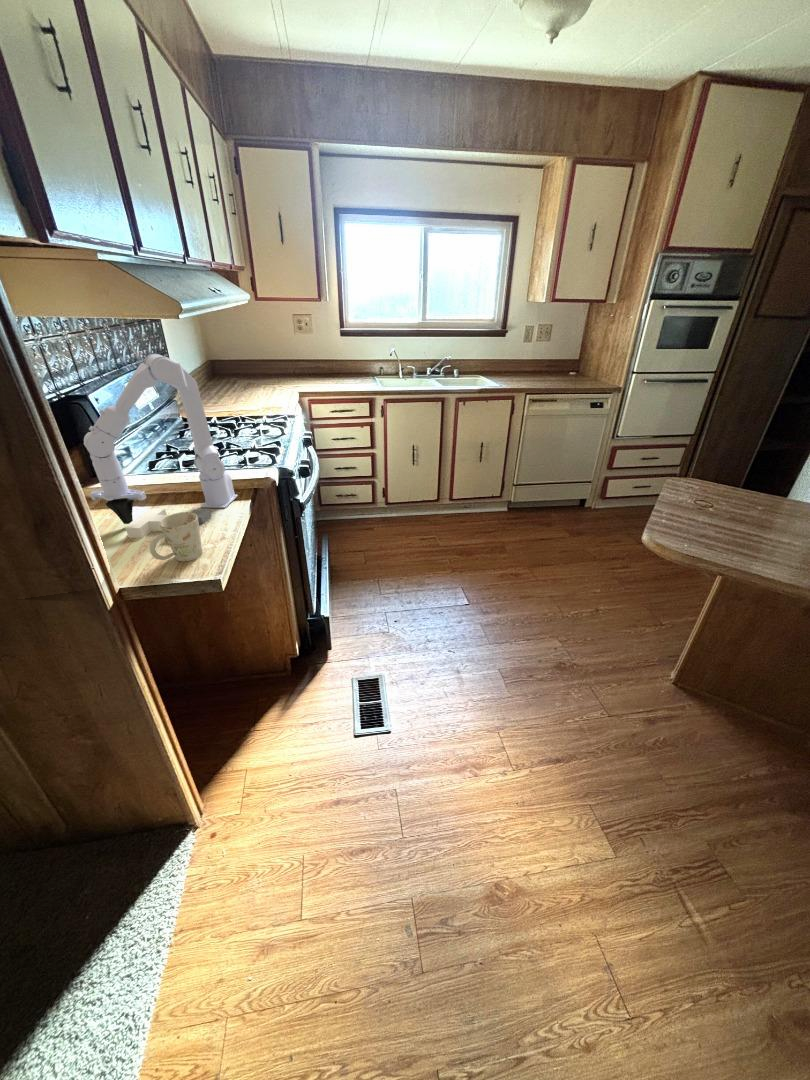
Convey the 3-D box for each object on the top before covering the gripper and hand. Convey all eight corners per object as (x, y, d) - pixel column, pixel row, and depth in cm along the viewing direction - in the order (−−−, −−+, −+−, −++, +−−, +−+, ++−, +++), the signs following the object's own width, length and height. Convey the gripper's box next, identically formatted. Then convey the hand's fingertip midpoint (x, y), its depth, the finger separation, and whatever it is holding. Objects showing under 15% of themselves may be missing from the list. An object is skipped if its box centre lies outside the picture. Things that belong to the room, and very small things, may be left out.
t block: (154, 517, 126) (151, 508, 124) (190, 518, 125) (187, 509, 123) (129, 537, 115) (125, 527, 114) (167, 538, 115) (164, 528, 113)
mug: (214, 551, 108) (204, 516, 103) (168, 576, 99) (155, 538, 94) (193, 543, 112) (183, 509, 107) (147, 566, 102) (134, 530, 97)
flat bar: (195, 515, 126) (193, 509, 125) (211, 516, 126) (209, 510, 125) (165, 541, 113) (163, 535, 112) (183, 542, 113) (181, 535, 112)
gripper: (74, 482, 110) (94, 528, 117) (127, 483, 109) (144, 529, 116) (93, 472, 117) (111, 517, 123) (144, 473, 116) (159, 518, 122)
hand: (128, 522), depth 120 cm, fingers closed
